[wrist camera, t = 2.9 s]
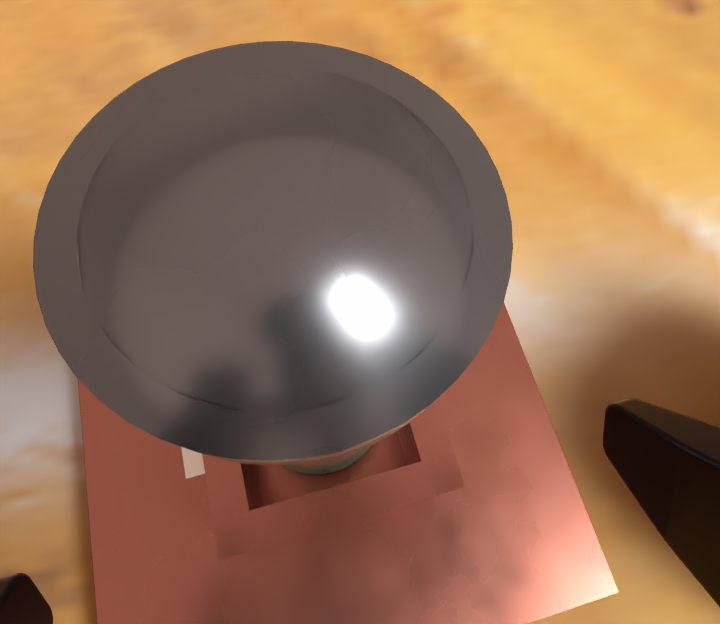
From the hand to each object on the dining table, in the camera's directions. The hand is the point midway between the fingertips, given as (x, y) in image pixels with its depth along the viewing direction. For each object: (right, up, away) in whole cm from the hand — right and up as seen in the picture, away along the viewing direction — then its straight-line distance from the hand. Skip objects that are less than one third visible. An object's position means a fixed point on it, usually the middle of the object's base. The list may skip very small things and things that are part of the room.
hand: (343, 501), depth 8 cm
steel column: (-1, -1, +10) cm, 10 cm away
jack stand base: (-1, -1, +11) cm, 11 cm away
